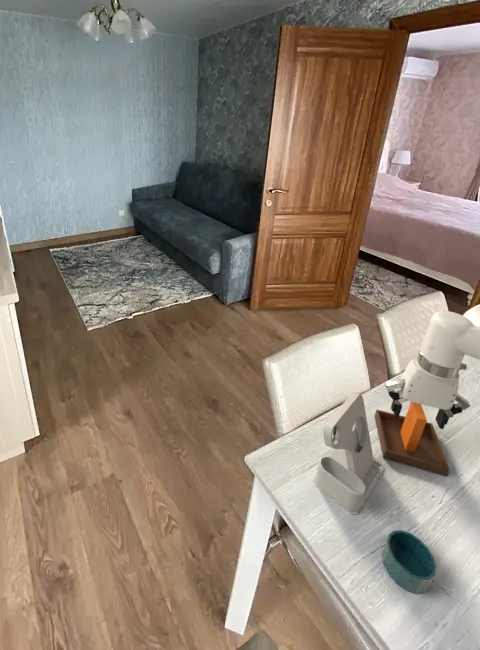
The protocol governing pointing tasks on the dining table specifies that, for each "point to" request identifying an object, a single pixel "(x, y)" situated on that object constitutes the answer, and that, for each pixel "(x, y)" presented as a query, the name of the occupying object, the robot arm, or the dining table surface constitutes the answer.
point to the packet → (413, 426)
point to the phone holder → (348, 456)
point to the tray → (426, 451)
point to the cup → (408, 561)
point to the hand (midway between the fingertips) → (416, 418)
